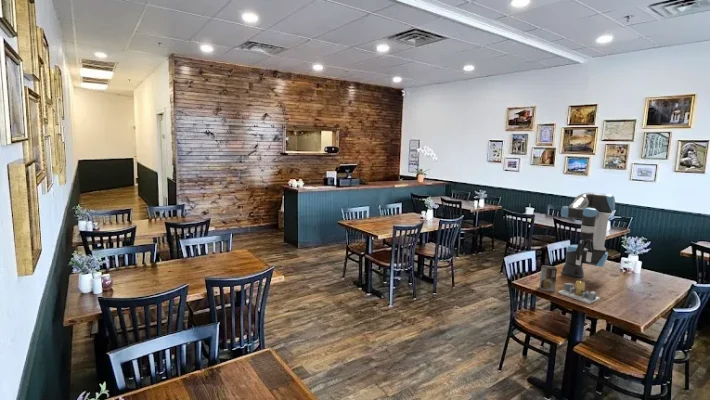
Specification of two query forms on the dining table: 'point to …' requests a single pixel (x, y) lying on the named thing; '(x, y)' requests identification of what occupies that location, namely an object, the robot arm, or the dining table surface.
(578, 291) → the coupler
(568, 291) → the shaft bench
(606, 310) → the dining table surface
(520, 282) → the dining table surface
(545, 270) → the coffee box
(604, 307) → the dining table surface
